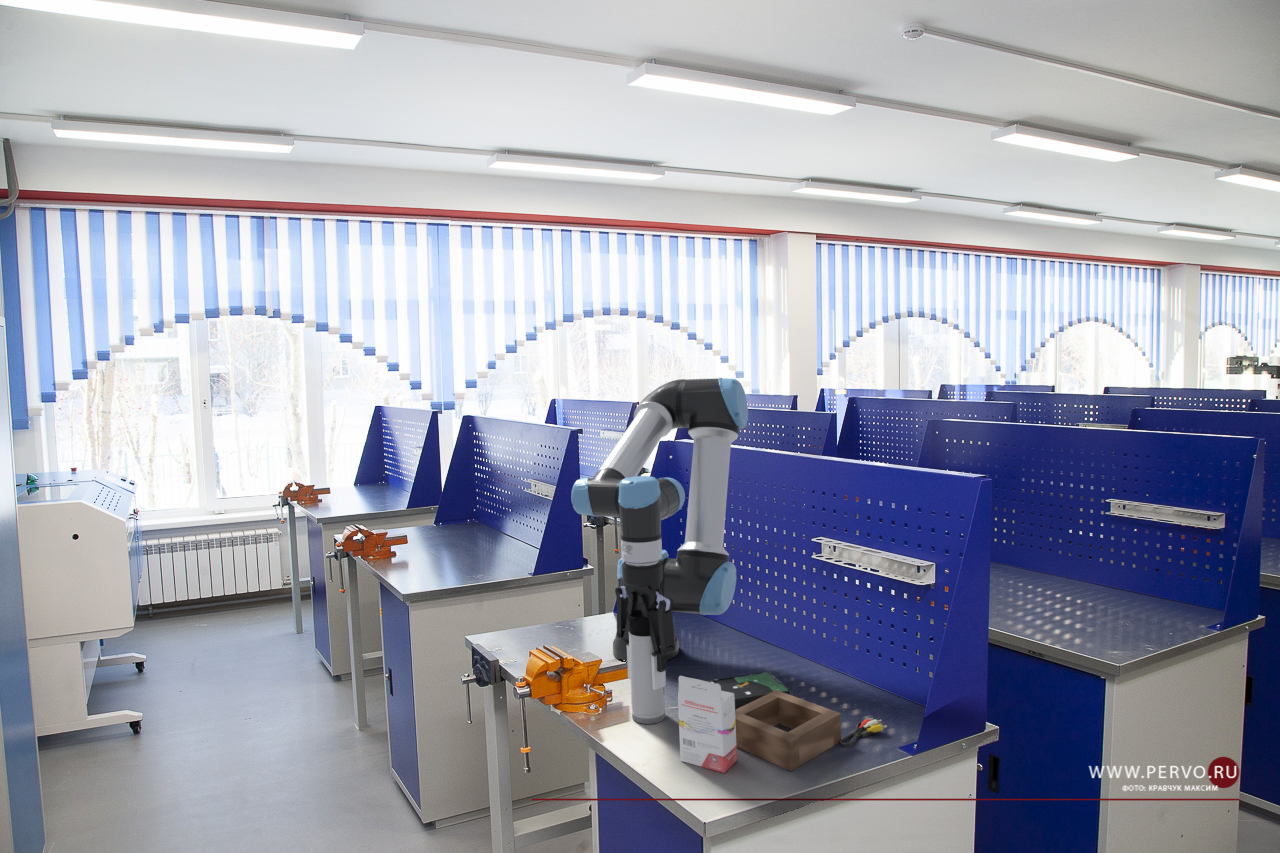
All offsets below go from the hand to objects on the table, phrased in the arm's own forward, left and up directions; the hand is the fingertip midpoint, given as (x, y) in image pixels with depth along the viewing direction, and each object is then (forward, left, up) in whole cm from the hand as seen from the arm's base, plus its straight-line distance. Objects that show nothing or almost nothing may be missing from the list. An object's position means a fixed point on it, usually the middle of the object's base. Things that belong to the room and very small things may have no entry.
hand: (646, 681), depth 148 cm
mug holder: (+24, +10, -7) cm, 27 cm away
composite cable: (+32, +21, -8) cm, 39 cm away
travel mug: (0, 0, -7) cm, 7 cm away
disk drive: (+7, +20, -8) cm, 22 cm away
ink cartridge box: (+19, -4, -7) cm, 21 cm away
